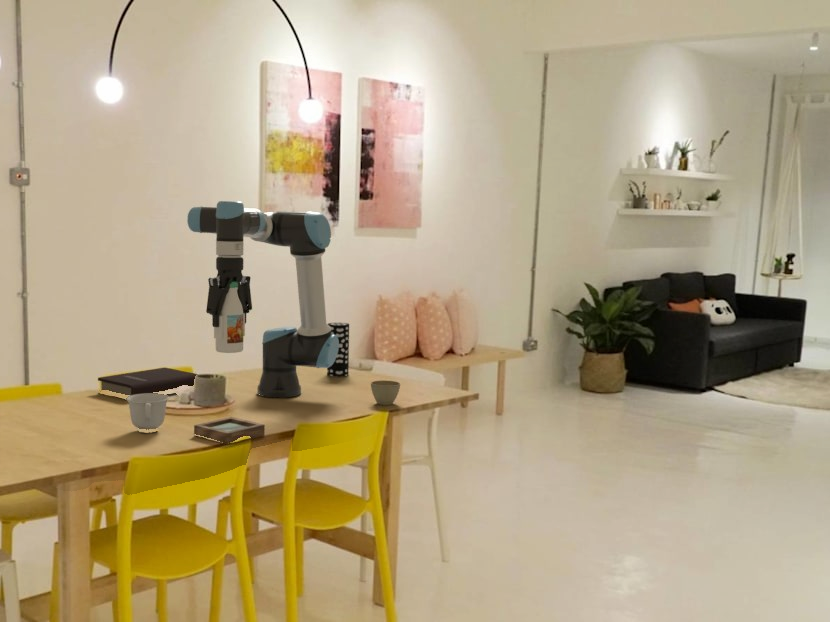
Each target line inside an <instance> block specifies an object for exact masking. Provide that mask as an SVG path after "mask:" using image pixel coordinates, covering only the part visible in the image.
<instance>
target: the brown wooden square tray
mask: <svg viewBox="0 0 830 622" xmlns="http://www.w3.org/2000/svg"><path fill="white" fill-rule="evenodd" d="M193 429H194V431H193V435H194V434H196V435H200V436H204V437H207V438H211V439H214V440H217V441H220V442H223V443H225V444H224V445H226V444H228V443H230V442H233V441H235V440H237V439H238V438H240V437H243V436H250V437H251V439H256V438H260V437H264V436H265V433H266V432H265V424H264V423H260V422H255V421H250V420H246V419H242V418H238V417H232V416H230V417H225V418H220V419H217V420H213V421H206V422H203V423H198V424H194V425H193ZM251 439H250V440H251ZM223 443H222V444H223Z"/></svg>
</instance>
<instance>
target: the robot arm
mask: <svg viewBox="0 0 830 622" xmlns="http://www.w3.org/2000/svg"><path fill="white" fill-rule="evenodd" d="M187 226H188V228H189V230H190V231H192V232H193V233H199V234H204V233H205V234H215V235H216V239H215V246H216V248H215V254H216V255H217V257H216V259H215V269H216V271H217V273H216V277H209V278H208V279H207V280H208V294H207V301H206V311H205V312H206V314H209V315H210V316H211V317H212V319H211V320H212V328H213V339H216V338H217V339H223V316H221V315H220V313H221V310H222V307H223V304H224V301H225V297H226V294H227V293H228V292H229V289H230V288H235V287H230V284H231V283H232V281H236V282H237V283H238V289H237V294H238V297H239V300H240V302H241V304H242V308H243V337H245V336H246V327H245V326H246V324H247V314H249V313H250V311H252V310H253V305H252V304H253V303H252V302H253V301H252V295H251V276H248V275H243V273H242V271H243V270H244V258H243V255H244V237H245V238H250V239H251V240H253V241H254V242H260V243H265V244H269V245H274V246H279V247H289V252H290V255H291V256H292V257H293V258H294V260H295V266H296V270H295V271H296V280H297V293H298V303H299V304H298V305H299V314H300V315H299V317H300V326H299V327H298V328H297V327H295V326H288V327H287V326H286V327H285V326H284V327H277V328H271V329H270V328H269V329H267V330H265V331H264V332H263V334H262V335H263V336H262V343H261V344H262V373H261V375H260V379H259V384H258V385H257V393H258V394H260V395H263V396H262V397H264V396H268V397H267V398H272V397H279V398H280V399H283V398H284V399H285V397H286V398H293V397H298V396H300V395H301V394H302V386H301V385H300V381H299V378H298V374H297V367H308V368H316V369H320V368H321V369H327V368H328V367H330V366H331V365H332V364H333V363H334V361H335V359H336V357H337V354H338V349H339V339H338V337H337V336H336V335H334V334H332V332H331V327H330V326H329V325H328V323H327V314H326V302H325V301H326V300H325V289H324V287H325V286H324V275H323V274H324V273H323V261H322V256H323V255H324V254H325V253H326V248H328V247H329V246H330V244H331V238H332V229H331V225H330V222H329V220H328V218H327V217H326V216H325V214H324V213H322V212H315V211H295V210H294V211H291V210H290V211H288V210H287V211H286V210H278V211H266V212H264V211H262V210H260V209H259V208H255V207H246V208H245V205H244V203H243V201H236V200H235V201H234V200H233V201H231V200H230V201H229V200H227V201H226V200H224V201H223V200H220V201H219V200H218V202H217V204H216V206H215V207H211V206H194V207H192V208H191V209H189V211H188V213H187ZM222 288H224V289H222ZM258 394H257V395H258ZM260 395H259V396H260ZM279 398H278V399H279Z"/></svg>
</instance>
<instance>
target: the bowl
mask: <svg viewBox="0 0 830 622" xmlns="http://www.w3.org/2000/svg"><path fill="white" fill-rule="evenodd" d="M400 388H401V382H399V381H394V380H385V379H384V380H374V381H371V382H370V389H371V391H372V392H371V393H372V396H373V398H374V399H375V402H376V403H377V404H378V405H380V406H391V404H392V405H393V404H394V403H395V400H396V399H397V396H398V395H399V392H400Z"/></svg>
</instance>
